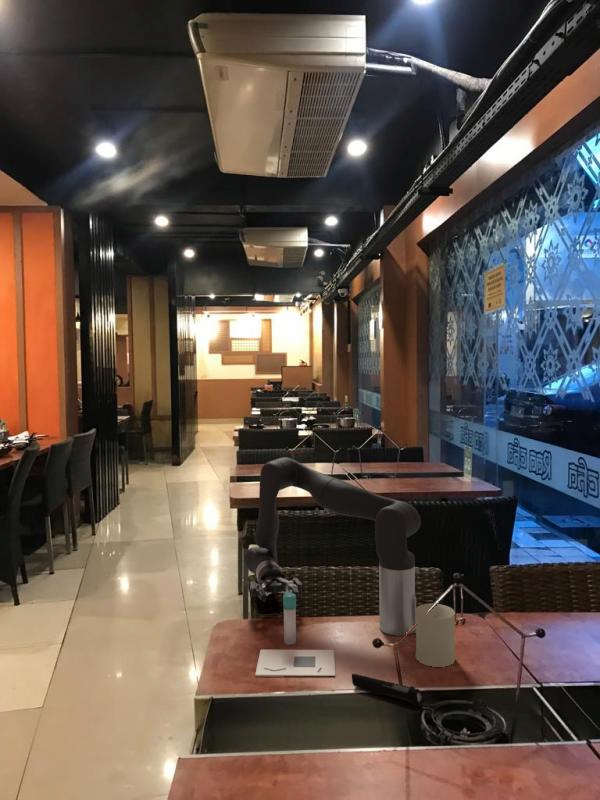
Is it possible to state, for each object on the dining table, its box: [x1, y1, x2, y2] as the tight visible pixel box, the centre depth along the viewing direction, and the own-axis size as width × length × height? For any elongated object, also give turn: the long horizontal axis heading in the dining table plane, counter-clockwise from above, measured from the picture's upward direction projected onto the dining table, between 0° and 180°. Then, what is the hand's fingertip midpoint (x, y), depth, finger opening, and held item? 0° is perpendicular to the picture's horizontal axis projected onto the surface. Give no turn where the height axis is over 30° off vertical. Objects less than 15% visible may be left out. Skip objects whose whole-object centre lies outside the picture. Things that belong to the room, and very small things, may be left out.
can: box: [414, 603, 456, 668], centre depth 143 cm, size 9×9×12 cm
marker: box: [282, 593, 297, 646], centre depth 152 cm, size 3×3×12 cm
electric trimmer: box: [351, 673, 424, 707], centre depth 128 cm, size 4×16×3 cm, turn 61°
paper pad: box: [254, 649, 336, 677], centre depth 142 cm, size 18×12×1 cm, turn 88°
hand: (280, 597), depth 163 cm, fingers open, 8 cm apart
